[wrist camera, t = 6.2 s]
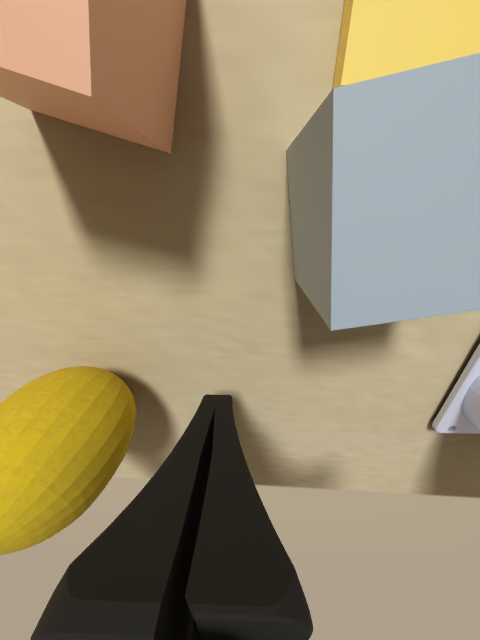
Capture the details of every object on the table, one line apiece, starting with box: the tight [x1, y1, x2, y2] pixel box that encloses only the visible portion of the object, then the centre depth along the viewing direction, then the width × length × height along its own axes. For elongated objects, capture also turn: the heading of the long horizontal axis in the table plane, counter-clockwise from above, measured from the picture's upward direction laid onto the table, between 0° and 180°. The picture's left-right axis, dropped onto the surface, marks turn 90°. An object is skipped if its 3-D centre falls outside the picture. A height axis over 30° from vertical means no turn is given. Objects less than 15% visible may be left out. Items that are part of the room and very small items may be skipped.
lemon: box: [0, 366, 136, 555], centre depth 10 cm, size 6×6×8 cm
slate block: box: [286, 53, 480, 331], centre depth 7 cm, size 5×5×5 cm
